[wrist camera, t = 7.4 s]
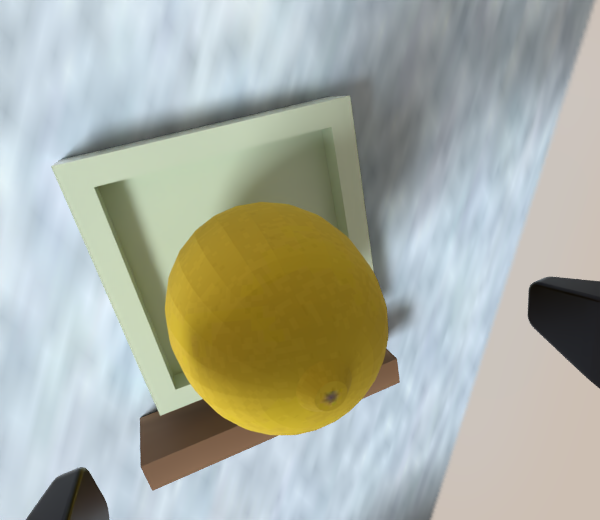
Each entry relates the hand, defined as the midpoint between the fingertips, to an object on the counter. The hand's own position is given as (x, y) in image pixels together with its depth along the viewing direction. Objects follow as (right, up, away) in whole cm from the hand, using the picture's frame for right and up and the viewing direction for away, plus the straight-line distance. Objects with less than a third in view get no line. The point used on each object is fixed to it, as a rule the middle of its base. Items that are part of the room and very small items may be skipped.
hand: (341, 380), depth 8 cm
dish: (-3, +3, +8) cm, 9 cm away
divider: (-2, -3, +10) cm, 11 cm away
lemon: (-3, +2, +7) cm, 8 cm away
